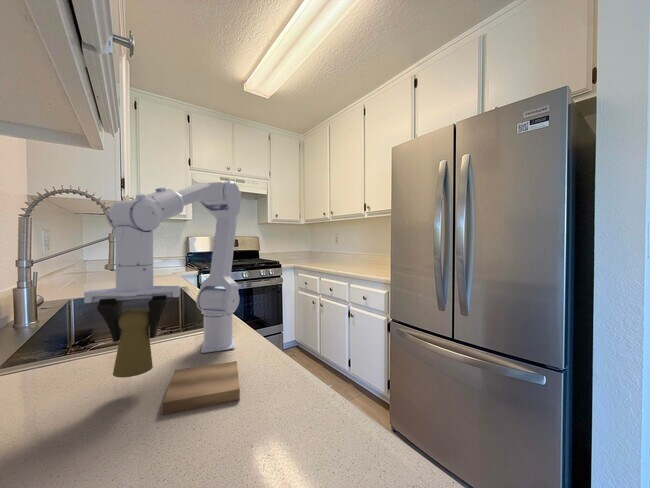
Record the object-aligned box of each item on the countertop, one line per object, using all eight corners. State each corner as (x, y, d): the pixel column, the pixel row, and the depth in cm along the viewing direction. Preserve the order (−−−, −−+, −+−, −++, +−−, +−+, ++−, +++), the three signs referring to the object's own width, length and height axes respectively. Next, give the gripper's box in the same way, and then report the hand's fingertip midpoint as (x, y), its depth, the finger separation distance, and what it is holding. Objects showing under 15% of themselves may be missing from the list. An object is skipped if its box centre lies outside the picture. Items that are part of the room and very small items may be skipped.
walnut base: (175, 379, 56) (174, 370, 56) (236, 370, 60) (236, 361, 60) (162, 415, 44) (162, 402, 44) (239, 400, 49) (239, 388, 49)
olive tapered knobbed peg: (134, 378, 47) (137, 314, 47) (103, 376, 48) (106, 312, 48) (160, 364, 53) (162, 307, 53) (132, 362, 54) (134, 306, 54)
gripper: (74, 268, 44) (75, 351, 44) (175, 265, 49) (176, 340, 49) (94, 264, 51) (94, 337, 51) (181, 262, 56) (181, 328, 56)
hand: (135, 338), depth 51 cm, fingers closed on olive tapered knobbed peg, 5 cm apart
